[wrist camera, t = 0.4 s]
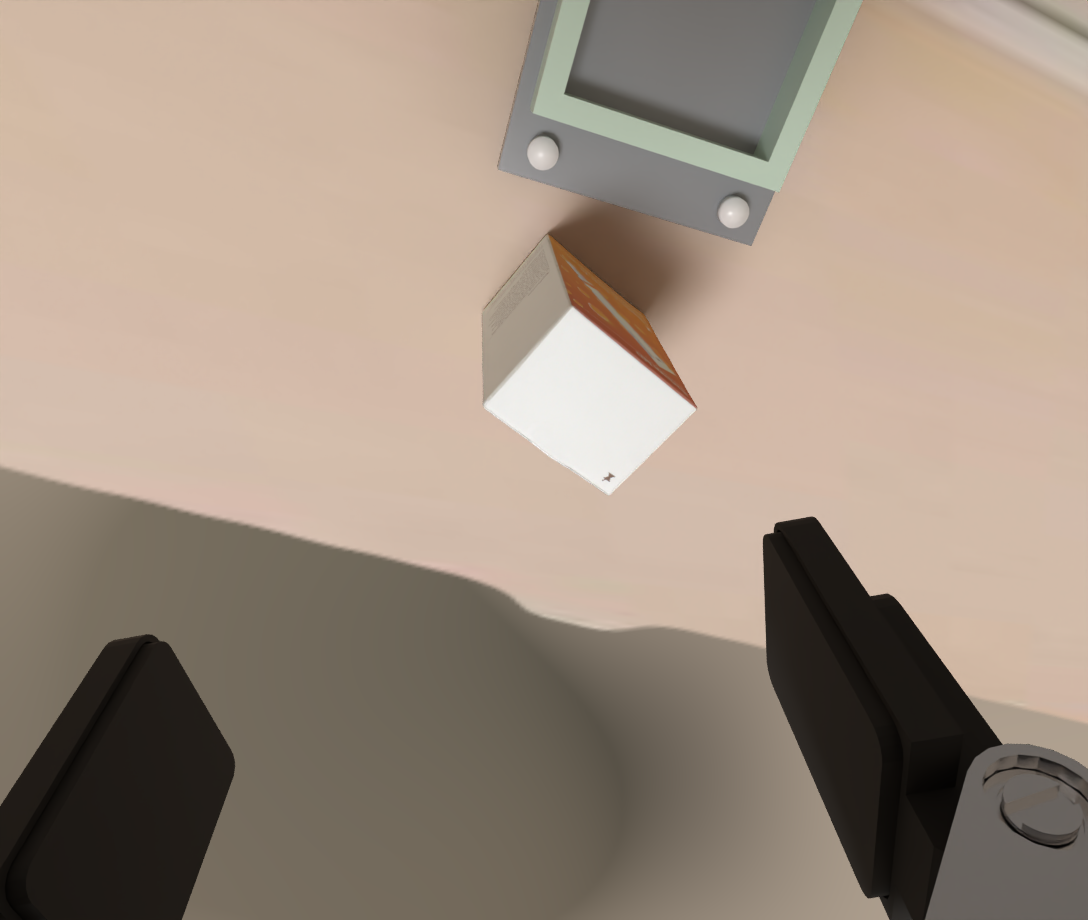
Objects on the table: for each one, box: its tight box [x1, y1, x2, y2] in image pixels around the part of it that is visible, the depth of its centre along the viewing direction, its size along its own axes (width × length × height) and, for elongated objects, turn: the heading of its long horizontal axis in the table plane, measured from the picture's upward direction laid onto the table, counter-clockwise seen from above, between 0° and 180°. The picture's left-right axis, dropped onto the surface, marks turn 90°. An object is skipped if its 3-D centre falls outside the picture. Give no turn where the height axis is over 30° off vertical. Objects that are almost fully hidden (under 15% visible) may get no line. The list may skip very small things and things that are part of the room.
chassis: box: [497, 0, 863, 246], centre depth 35 cm, size 15×18×4 cm
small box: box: [482, 234, 697, 495], centre depth 39 cm, size 8×6×13 cm
